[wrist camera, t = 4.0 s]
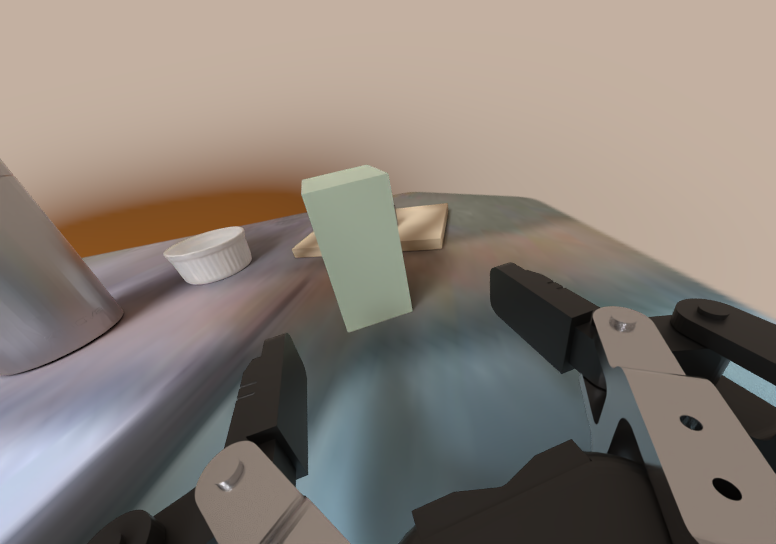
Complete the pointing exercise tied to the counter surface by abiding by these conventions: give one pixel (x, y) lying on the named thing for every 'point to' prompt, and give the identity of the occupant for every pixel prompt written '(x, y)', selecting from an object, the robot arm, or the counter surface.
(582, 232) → the counter surface
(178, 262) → the ramekin
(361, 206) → the green block
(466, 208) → the counter surface
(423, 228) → the peg board
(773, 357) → the robot arm
